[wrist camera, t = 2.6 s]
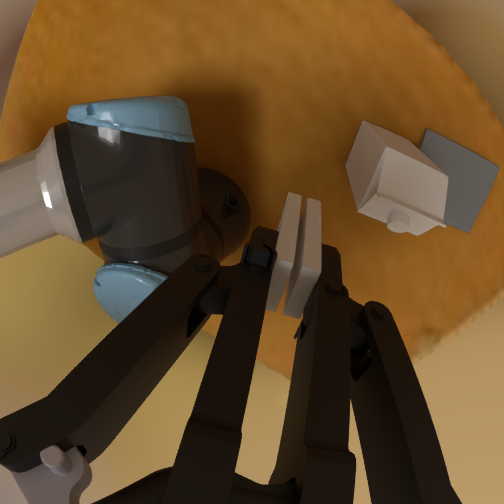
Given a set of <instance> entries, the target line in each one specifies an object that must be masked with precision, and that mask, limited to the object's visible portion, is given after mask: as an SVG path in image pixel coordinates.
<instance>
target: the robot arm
mask: <svg viewBox="0 0 504 504" xmlns="http://www.w3.org/2000/svg"><path fill="white" fill-rule="evenodd" d="M66 117H67V120H70V121H68V122H65V123H62V124H59V125H56V126H53V127H51V128H50V130H49V131H48V133H47V135H46V136H45V138H44V140H43V141H42V143H41V144H40V146H39V147H38V148H37V149H34V150H31V151H29V152H26V153H24V154H21V155H19V156H16V157H14V158H11V159H9V160H6V161H4V162H2V163H0V258H2V257H4V256H7V255H9V254H12V253H14V252H16V251H19V250H21V249H24V248H26V247H28V246H31V245H33V244H36V243H38V242H41V241H43V240H46V239H48V238H51V237H53V236H56V235H64V236H66V237H68V238H70V239H72V240H74V241H76V242H78V243H83V242H85V241H88V240H91V239H93V238H96V237H97V238H98V241H99V244H100V248H101V251H102V254H103V257H104V261H105V264H104V265H103V266H102V267H101V268H99V269H98V271H97V275H96V278H95V280H94V283H93V288H94V294H95V296H96V299H97V300H98V302H99V304H100V305H101V307H102V308H103V309H104V311H105V312H106V313H107V314H108V315H109V316H110V317H111V318H112V319H114V320H115V321H116V322H117V323H119V324H118V325H117V326H116V327H115V328H114V329H113V330H112V331H111V332H110V333H109V334H108V335H107V336H106V337H105V338H104V339H103V340H102V341H101V342H100V343H99V344H98V345H97V346H96V347H95V348H94V349H93V350H92V351H91V352H90V353H89V354H88V355H87V356H86V357H85V358H84V359H83V360H82V361H81V362H80V363H79V364H78V365H77V366H76V367H75V368H74V369H73V370H72V371H71V372H70V373H69V374H68V375H67V376H66V377H65V379H63V380H62V381H61V382H60V383H59V384H58V385H57V386H56V388H55V389H54V390H53V391H52V392H51V393H50V394H49V395H48V396H47V397H45V398H43V399H41V400H39V401H37V402H35V403H32V404H30V405H28V406H26V407H24V408H22V409H20V410H18V411H16V412H14V413H12V414H10V415H7V416H5V417H3V418H1V419H0V464H1V465H3V466H4V467H6V468H7V469H8V470H10V471H11V473H12V474H13V476H14V478H15V480H16V482H17V484H18V486H19V487H20V489H21V491H22V493H23V494H24V496H25V498H26V499H27V501H28V503H29V504H79V498H80V496H81V493H82V492H83V491H84V490H85V489H86V488H87V487H88V486H89V485H90V483H91V480H92V471H91V467H90V466H89V463H91V462H92V461H93V460H95V459H96V458H97V457H98V456H99V455H101V454H102V453H103V452H104V450H105V449H106V448H107V447H108V446H109V445H110V444H111V442H112V441H113V440H114V439H115V438H116V436H117V435H118V434H119V432H120V431H121V430H122V428H123V427H124V426H125V425H126V423H127V422H128V421H129V420H130V418H131V417H132V416H133V415H134V414H135V412H136V411H137V409H138V408H139V407H140V406H141V405H142V403H143V402H144V401H145V400H146V398H147V397H148V396H149V394H150V393H151V392H152V391H153V389H154V388H155V387H156V386H157V384H158V383H159V382H160V380H161V379H162V378H163V377H164V375H165V374H166V373H167V371H168V370H169V369H170V368H171V366H172V365H173V364H174V363H175V361H176V360H177V359H178V358H179V356H180V355H181V354H182V352H183V351H184V350H185V348H186V347H187V346H188V345H189V343H190V342H191V341H192V340H193V338H194V337H195V335H196V334H197V333H198V332H199V331H200V329H201V328H202V327H203V326H204V324H205V323H206V322H207V320H208V319H209V318H210V316H211V314H221V315H223V317H222V320H221V323H220V326H219V330H218V333H217V336H216V339H215V342H214V345H213V348H212V351H211V354H210V358H209V360H208V364H207V367H206V370H205V373H204V376H203V379H202V382H201V385H200V388H199V392H198V395H197V398H196V401H195V404H194V407H193V410H192V413H191V416H190V418H189V420H188V422H187V425H186V428H185V431H184V434H183V437H182V440H181V444H180V446H179V449H178V453H177V456H176V459H175V462H174V465H173V467H168V468H164V469H161V470H158V471H155V472H153V473H151V474H149V475H148V476H146V477H144V478H142V479H140V480H138V481H136V482H135V483H133V484H131V485H129V486H127V487H125V488H123V489H121V490H119V491H117V492H115V493H113V494H111V495H109V496H107V497H105V498H103V499H101V500H98V501H96V502H94V503H92V504H353V499H354V487H355V475H356V458H355V455H354V454H353V453H352V452H350V451H349V449H348V441H349V420H350V398H351V403H352V407H353V411H354V416H355V420H356V425H357V430H358V434H359V439H360V444H361V449H362V454H363V458H364V464H365V470H366V475H367V480H368V486H369V492H370V497H371V503H372V504H462V503H461V501H460V499H459V498H458V496H457V494H456V493H455V491H454V489H453V488H452V486H451V484H450V480H449V476H448V472H447V468H446V465H445V461H444V457H443V454H442V451H441V447H440V444H439V440H438V437H437V434H436V431H435V427H434V424H433V422H432V418H431V415H430V412H429V409H428V407H427V403H426V401H425V398H424V395H423V392H422V389H421V387H420V384H419V381H418V378H417V376H416V373H415V370H414V368H413V365H412V362H411V360H410V357H409V355H408V352H407V350H406V347H405V345H404V342H403V340H402V337H401V335H400V333H399V330H398V328H397V326H396V323H395V321H394V319H393V316H392V314H391V312H390V311H389V309H388V308H387V307H386V306H385V305H383V304H381V303H379V302H376V301H369V302H367V303H366V304H365V305H364V306H363V305H361V304H359V303H357V302H355V301H353V300H352V299H351V298H349V293H348V290H347V288H346V287H345V286H344V285H343V284H342V270H341V258H340V253H339V252H338V250H337V249H336V248H335V247H332V246H328V245H325V244H322V243H321V201H318V200H315V199H311V198H308V199H307V202H306V205H305V208H304V211H303V214H302V217H301V220H300V223H299V216H300V207H301V198H302V196H301V195H298V194H295V193H291V192H289V193H288V196H287V199H286V203H285V206H284V209H283V213H282V216H281V219H280V223H279V226H278V229H277V231H275V230H271V229H268V228H264V227H261V226H259V227H257V228H256V229H254V230H253V233H252V236H251V238H250V241H249V242H248V243H247V244H246V245H245V246H244V250H243V254H242V258H241V262H240V263H239V264H236V265H233V266H220V263H221V261H222V260H224V259H225V258H226V257H228V256H229V255H230V254H232V253H233V252H234V251H235V250H237V248H238V247H239V246H240V245H241V243H242V242H243V240H244V238H245V236H246V233H247V231H248V228H249V223H250V211H249V206H248V203H247V200H246V198H245V196H244V194H243V193H242V191H241V190H240V189H239V187H238V186H237V185H236V184H235V183H234V182H233V181H232V180H230V179H229V178H228V177H226V176H225V175H223V174H221V173H219V172H216V171H213V170H210V169H205V168H196V157H195V147H194V143H195V142H196V141H195V137H194V136H193V133H192V127H191V121H190V114H189V109H188V106H187V105H186V103H185V102H184V101H183V100H182V99H180V98H178V97H175V96H146V97H131V98H119V99H110V100H101V101H94V102H88V103H81V104H75V105H72V106H70V108H69V109H68V114H67V115H66ZM298 224H299V226H298ZM288 277H289V280H288ZM287 280H288V287H287V293H286V300H285V306H284V313H283V314H284V315H288V316H292V317H295V318H299V319H300V317H301V315H302V313H303V319H302V321H301V323H300V325H299V327H298V329H297V332H296V334H295V336H294V338H295V339H296V338H297V344H296V351H295V358H294V364H293V371H292V377H291V384H290V390H289V396H288V402H287V408H286V414H285V419H284V425H283V430H282V436H281V441H280V446H279V451H278V457H277V462H276V466H275V469H274V471H273V473H272V475H271V478H270V480H269V483H268V485H262V484H259V483H256V482H254V481H252V480H250V479H248V478H245V477H243V476H241V475H239V474H237V473H235V468H236V463H237V459H238V454H239V449H240V444H241V439H242V432H241V428H242V423H243V418H244V414H245V409H246V404H247V399H248V394H249V390H250V384H251V380H252V375H253V370H254V365H255V360H256V355H257V350H258V345H259V340H260V335H261V329H262V324H263V319H264V314H265V309H266V310H270V311H273V312H276V309H277V306H278V304H279V301H280V299H281V296H282V293H283V291H284V288H285V285H286V283H287ZM297 336H298V337H297Z"/></svg>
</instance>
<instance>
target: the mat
mask: <svg viewBox="0 0 504 504" xmlns="http://www.w3.org/2000/svg"><path fill="white" fill-rule="evenodd" d="M418 149H419V150H420V151H421V152H422V153H424V154H425V155H426V156H427V157H428V158H429V159H430V160H431V161H432V162H433V163H434V164H435V165H436V166H438V167H439V168H440V169H441V170H442V171H443V172H444V173H445V174H446V175H447V176H448V187H447V196H446V204H445V211H444V218H443V221H444V223H446V224H448V225H451V226H453V227H456V228H458V229H460V230H462V231H465V232H467V233H469V231H470V229H471V227H472V225H473V223H474V221H475V219H476V218H477V216H478V214H479V212H480V210H481V208H482V206H483V204H484V202H485V200H486V197H487V195H488V193H489V191H490V189H491V187H492V185H493V182H494V180H495V178H496V176H497V173H498V171H499V169H500V168H499V167H498V166H496V165H495V164H493V163H491V162H490V161H488V160H486V159H485V158H483V157H481V156H479V155H478V154H476V153H474V152H472V151H470V150H469V149H467V148H465V147H463V146H461V145H459V144H457V143H455V142H454V141H452V140H450V139H448V138H446V137H444V136H442V135H440V134H437V133H435V132H433V131H431V130H429V129H427V128H426V129H425V131H424V134H423V137H422V140H421V142H420V145H419V148H418Z"/></svg>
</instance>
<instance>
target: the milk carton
mask: <svg viewBox="0 0 504 504" xmlns="http://www.w3.org/2000/svg"><path fill="white" fill-rule="evenodd" d="M345 167H346V171H347V174H348V178H349V181H350V185H351V189H352V193H353V196H354V200H355V204H356V208H357V212H359V213H362V214H364V215H366V216H369V217H371V218H374V219H377V220H379V221H382V222H384V223H387V228H388V229H389V230H391V231H393V232H397V233H404V232H409V233H411V234H414V235H417V236H418V235H420V234H422V233H424V232H426V231H428V230H429V229H431V228H433V227H435V226H437V225H440V226H442V227H444V228H446V224H445V223H444V221H443V218H444V211H445V204H446V196H447V187H448V176H447V175H446V174H445V173H444V172H443V171H442V170H441V169H440V168H439V167H438V166H436V165H435V164H434V163H433V162H432V161H431V160H430V159H429V158H428V157H427V156H426V155H425V154H424V153H422V152H421V151H420V150H419V149H418V148H417V147H416V146H415V145H414V144H412V143H411V142H410V141H409V140H407V139H406V138H404V137H401V136H399V135H397V134H395V133H393V132H391V131H388V130H386V129H384V128H381V127H379V126H377V125H375V124H372V123H370V122H367V121H365V120H363V121H362V123H361V126H360V129H359V131H358V134H357V136H356V139H355V142H354V144H353V147H352V149H351V152H350V154H349V157H348V159H347V162H346V164H345Z"/></svg>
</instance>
